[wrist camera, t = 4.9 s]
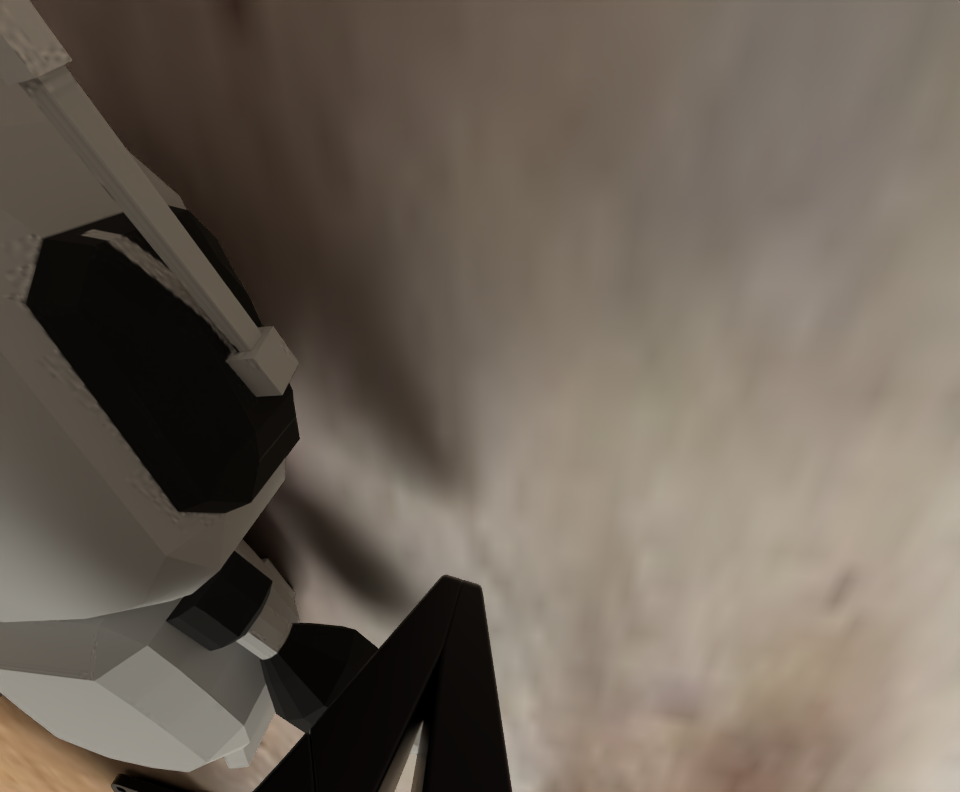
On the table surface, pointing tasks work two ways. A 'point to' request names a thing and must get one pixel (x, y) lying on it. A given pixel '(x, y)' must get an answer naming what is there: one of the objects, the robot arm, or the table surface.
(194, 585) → the robot toy
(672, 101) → the table surface
